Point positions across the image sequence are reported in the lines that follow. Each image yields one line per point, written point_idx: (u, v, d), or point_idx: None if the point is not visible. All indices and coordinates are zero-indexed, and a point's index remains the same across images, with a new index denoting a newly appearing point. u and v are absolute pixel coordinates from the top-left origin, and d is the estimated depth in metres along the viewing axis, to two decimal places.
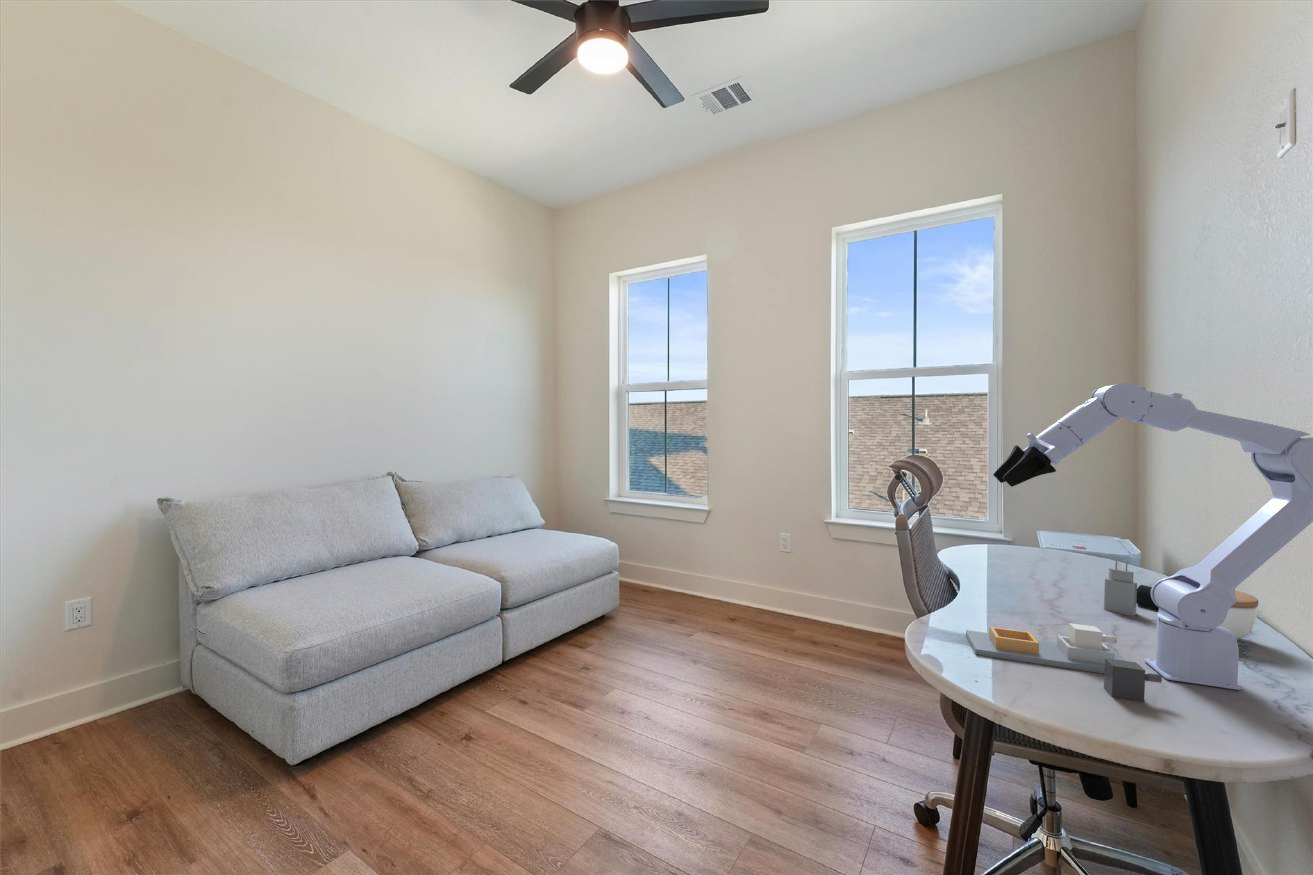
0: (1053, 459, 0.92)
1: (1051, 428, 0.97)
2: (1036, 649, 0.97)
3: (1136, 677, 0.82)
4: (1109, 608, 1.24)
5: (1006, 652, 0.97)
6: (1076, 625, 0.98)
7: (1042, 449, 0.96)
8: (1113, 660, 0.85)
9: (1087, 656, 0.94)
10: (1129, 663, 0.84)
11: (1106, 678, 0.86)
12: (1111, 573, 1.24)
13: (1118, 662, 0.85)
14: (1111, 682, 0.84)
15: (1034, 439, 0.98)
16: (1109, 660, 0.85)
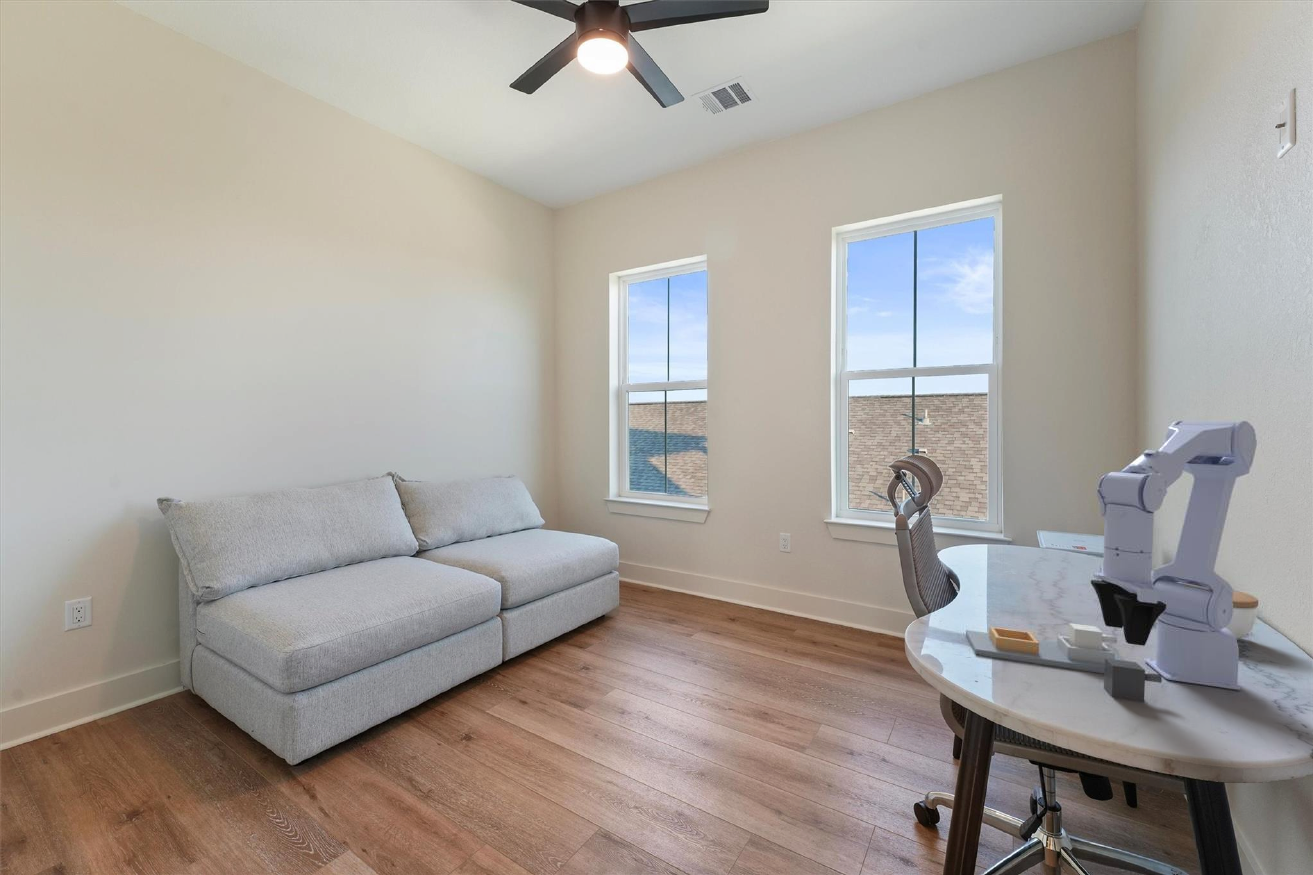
0: (1153, 601, 0.77)
1: (1109, 558, 0.84)
2: (1036, 649, 0.97)
3: (1136, 677, 0.82)
4: None
5: (1006, 652, 0.97)
6: (1076, 625, 0.98)
7: (1127, 587, 0.82)
8: (1113, 660, 0.85)
9: (1087, 656, 0.94)
10: (1129, 663, 0.84)
11: (1106, 678, 0.86)
12: None
13: (1118, 662, 0.85)
14: (1111, 682, 0.84)
15: (1107, 579, 0.84)
16: (1109, 660, 0.85)
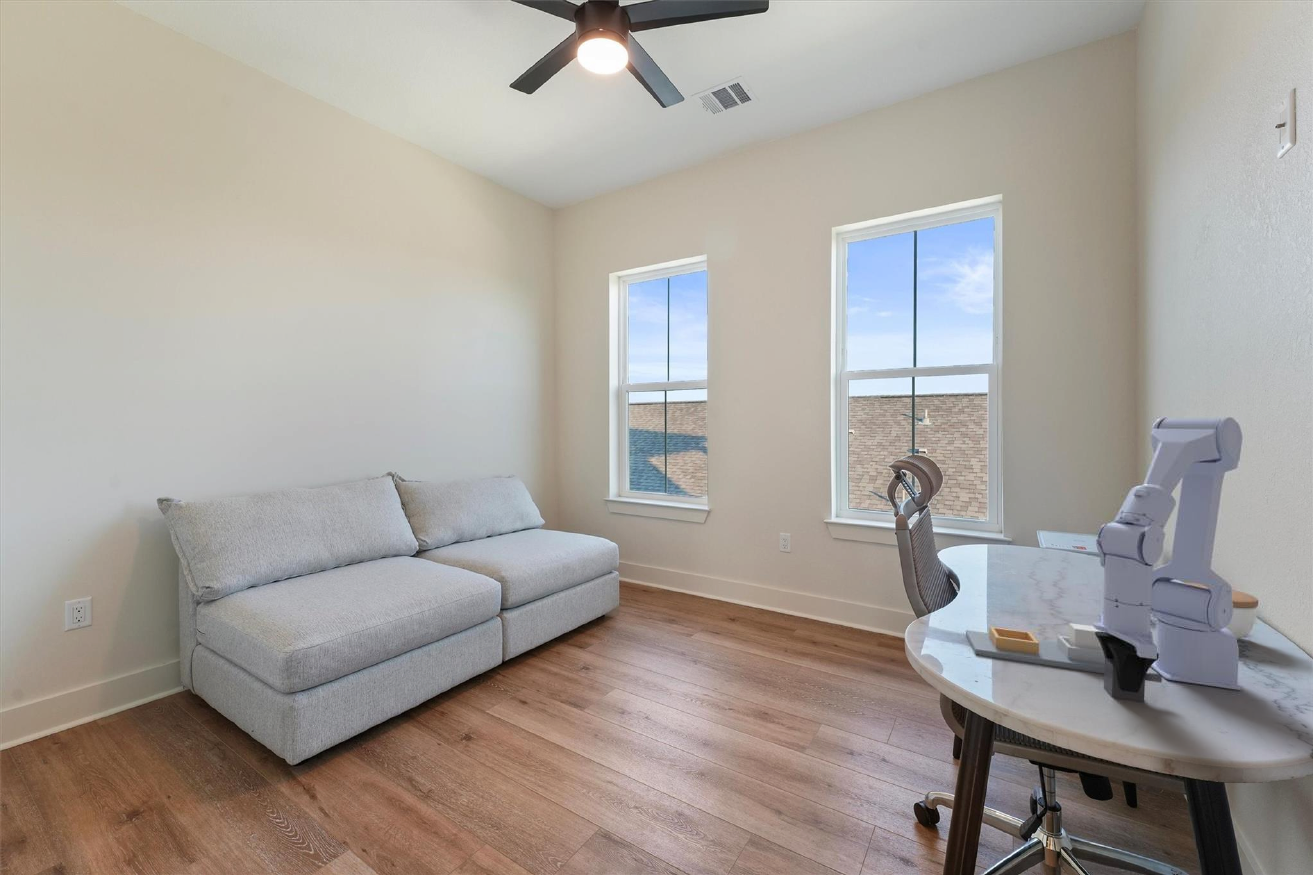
0: (1153, 657, 0.77)
1: (1108, 609, 0.84)
2: (1036, 649, 0.97)
3: None
4: None
5: (1006, 652, 0.97)
6: (1076, 625, 0.98)
7: None
8: (1113, 660, 0.85)
9: (1087, 656, 0.94)
10: None
11: (1106, 678, 0.86)
12: None
13: None
14: (1111, 682, 0.84)
15: (1107, 630, 0.84)
16: (1109, 660, 0.85)
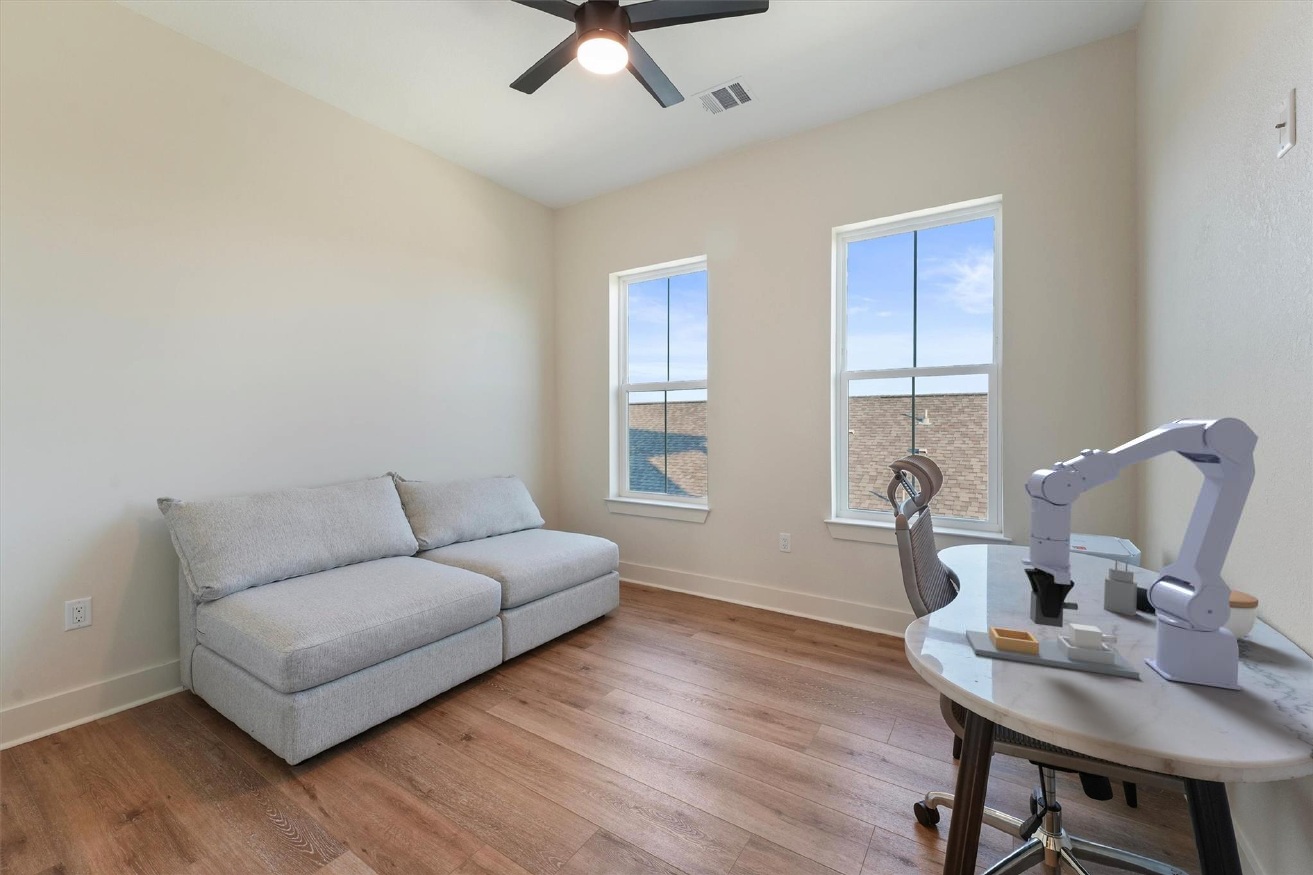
0: (1067, 583, 0.88)
1: (1033, 546, 0.95)
2: (1036, 649, 0.97)
3: None
4: (1109, 608, 1.24)
5: (1006, 652, 0.97)
6: (1076, 625, 0.98)
7: None
8: (1037, 592, 0.96)
9: (1087, 656, 0.94)
10: None
11: (1031, 608, 0.96)
12: (1111, 573, 1.24)
13: None
14: (1035, 610, 0.95)
15: (1032, 564, 0.95)
16: (1034, 592, 0.96)
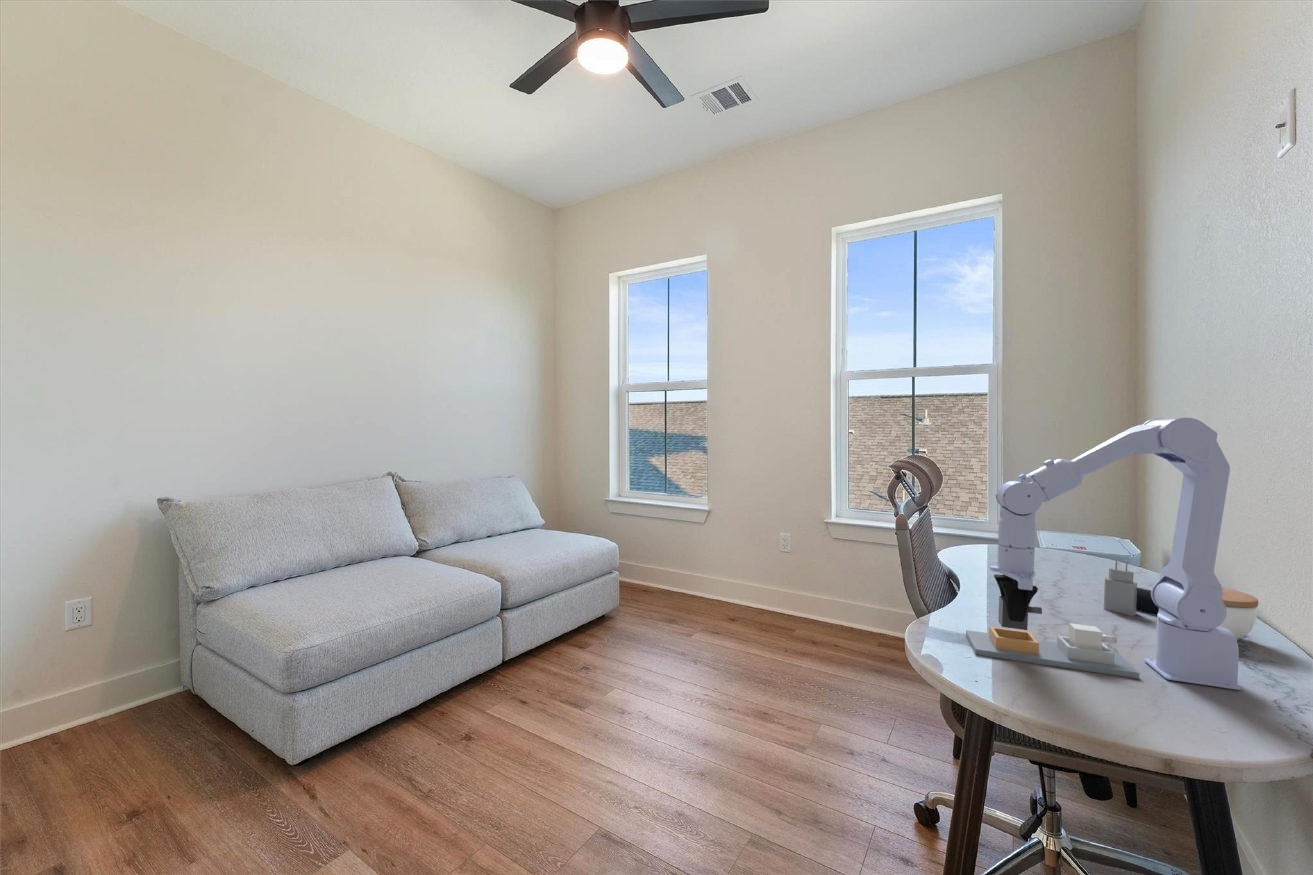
0: (1029, 588, 0.93)
1: (1000, 553, 1.00)
2: (1036, 649, 0.97)
3: None
4: (1109, 608, 1.24)
5: (1006, 652, 0.97)
6: (1076, 625, 0.98)
7: None
8: (1005, 597, 1.02)
9: (1087, 656, 0.94)
10: None
11: (999, 612, 1.02)
12: (1111, 573, 1.24)
13: None
14: (1002, 614, 1.00)
15: (999, 571, 1.00)
16: (1002, 597, 1.02)
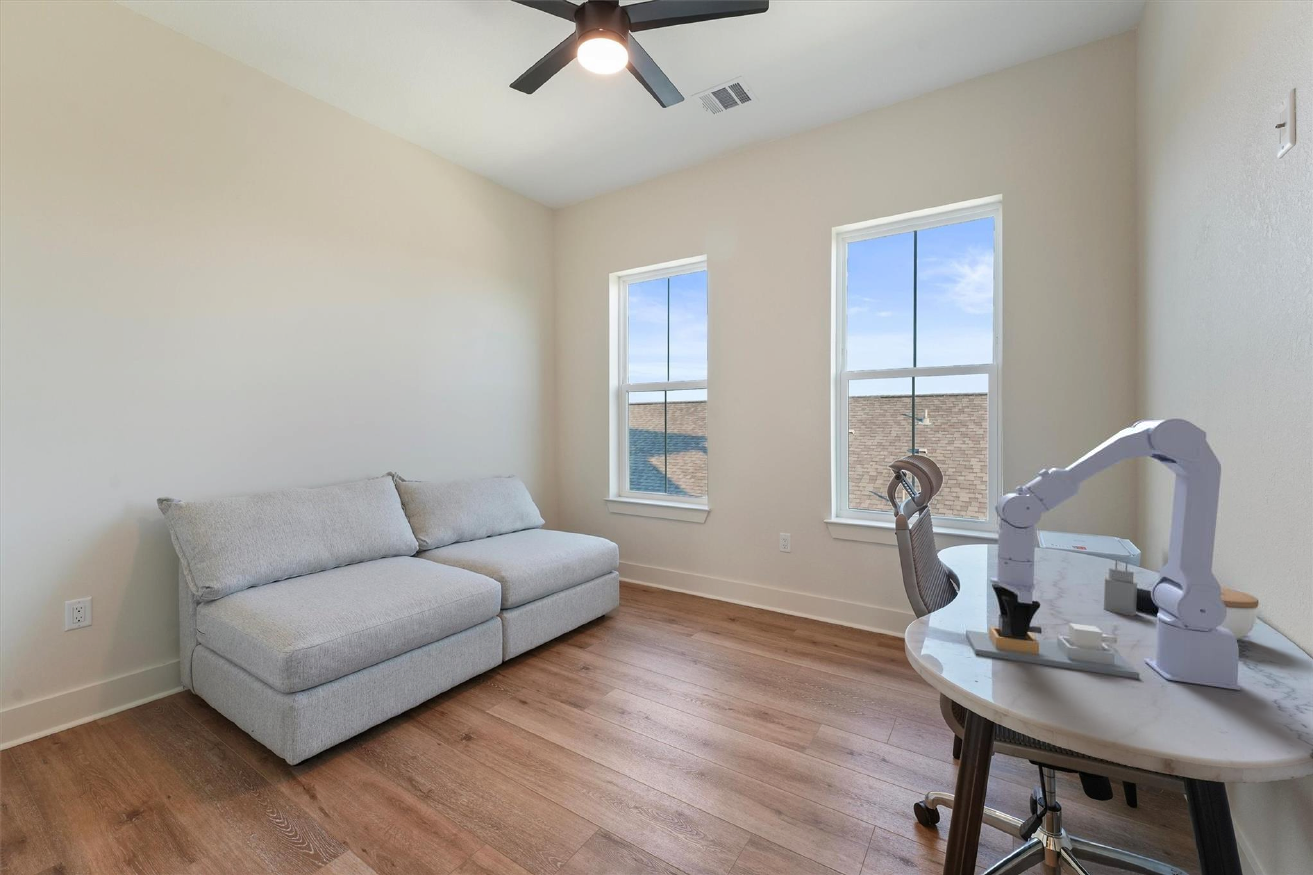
0: (1029, 602, 0.94)
1: (1000, 566, 1.00)
2: (1036, 649, 0.97)
3: None
4: (1109, 608, 1.24)
5: (1006, 652, 0.97)
6: (1076, 625, 0.98)
7: None
8: (1005, 616, 1.02)
9: (1087, 656, 0.94)
10: None
11: (999, 631, 1.02)
12: (1111, 573, 1.24)
13: None
14: (1001, 633, 1.00)
15: (999, 583, 1.00)
16: (1001, 616, 1.02)
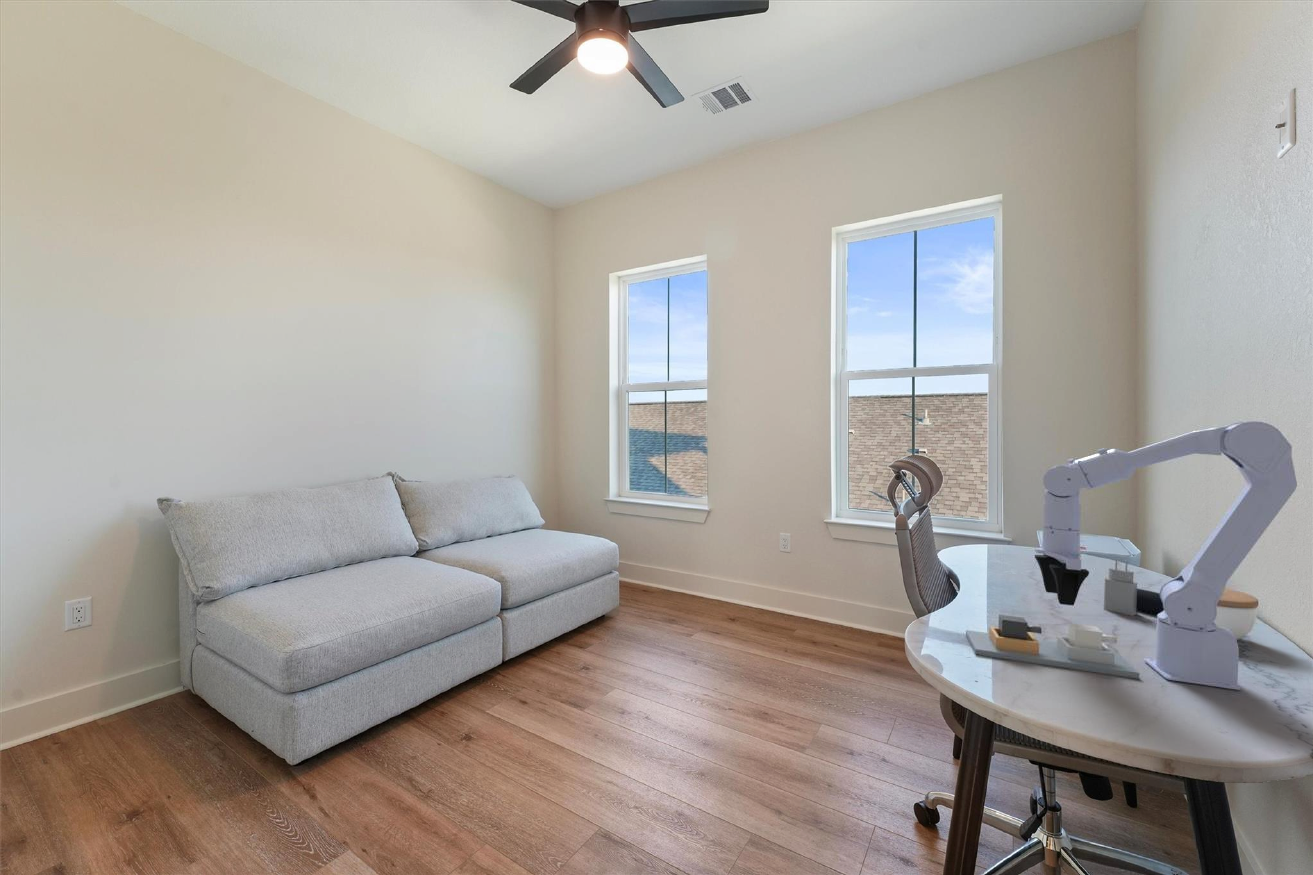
0: (1078, 568, 0.96)
1: (1046, 535, 1.02)
2: (1036, 649, 0.97)
3: (1020, 628, 0.99)
4: (1109, 608, 1.24)
5: (1006, 652, 0.97)
6: (1076, 625, 0.98)
7: (1059, 558, 1.00)
8: (1005, 616, 1.02)
9: (1087, 656, 0.94)
10: (1017, 618, 1.01)
11: (999, 631, 1.02)
12: (1111, 573, 1.24)
13: (1008, 617, 1.01)
14: (1001, 633, 1.00)
15: (1045, 553, 1.02)
16: (1001, 616, 1.02)
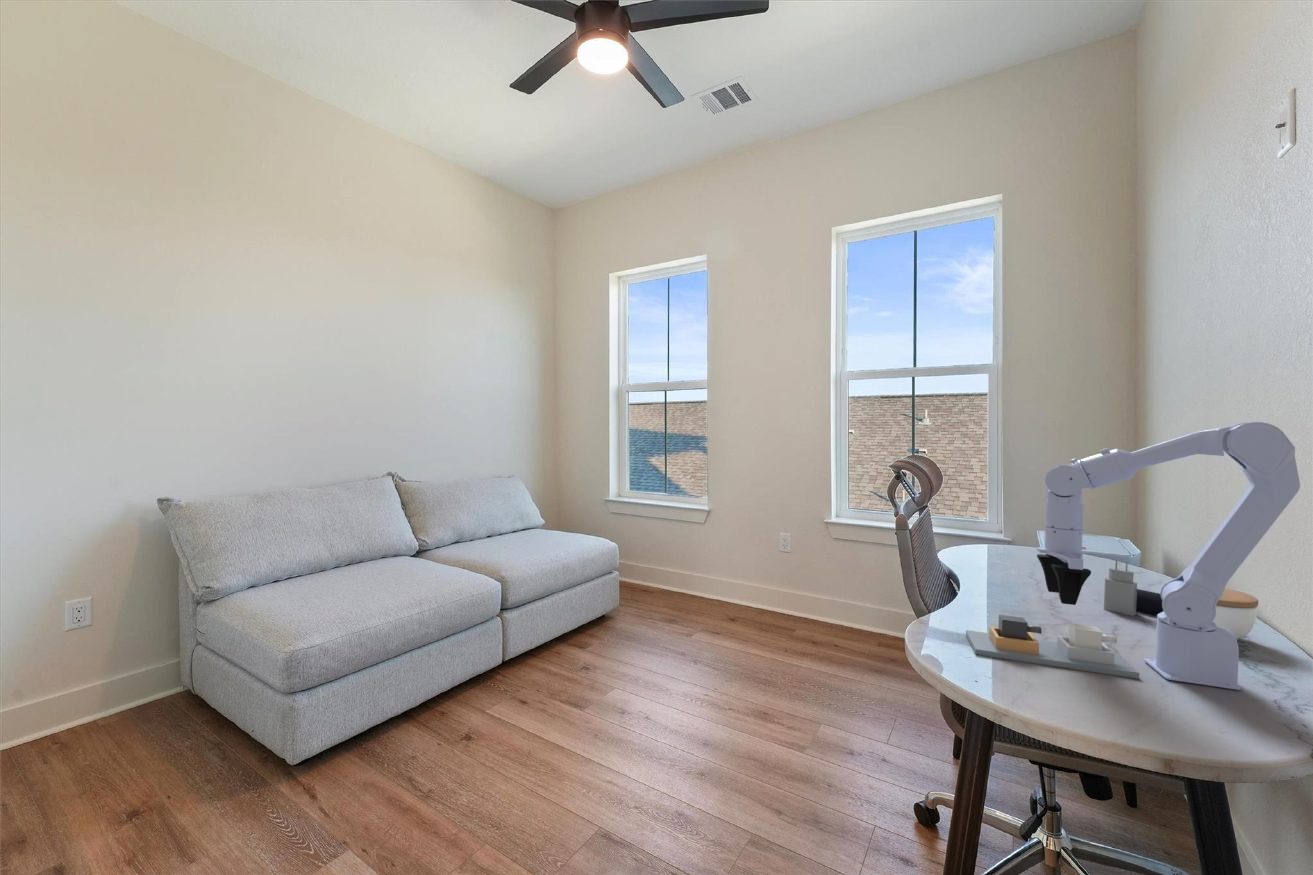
0: (1080, 568, 0.96)
1: (1048, 535, 1.03)
2: (1036, 649, 0.97)
3: (1020, 628, 0.99)
4: (1109, 608, 1.24)
5: (1006, 652, 0.97)
6: (1076, 625, 0.98)
7: None
8: (1005, 616, 1.02)
9: (1087, 656, 0.94)
10: (1017, 618, 1.01)
11: (999, 631, 1.02)
12: (1111, 573, 1.24)
13: (1008, 617, 1.01)
14: (1001, 633, 1.00)
15: (1047, 552, 1.02)
16: (1001, 616, 1.02)
